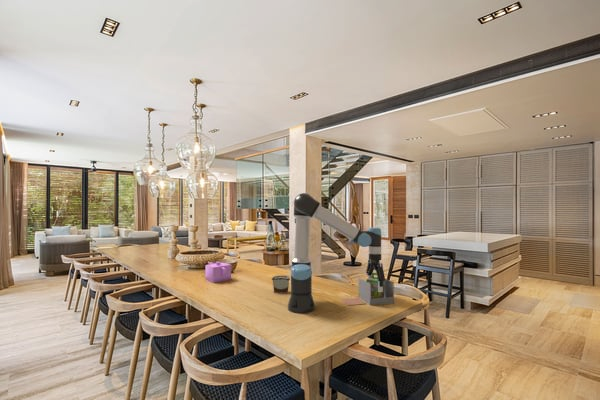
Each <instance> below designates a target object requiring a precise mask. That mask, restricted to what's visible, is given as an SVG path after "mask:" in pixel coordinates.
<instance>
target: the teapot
mask: <svg viewBox="0 0 600 400" xmlns="http://www.w3.org/2000/svg"><path fill="white" fill-rule="evenodd" d="M209 263H210V264H206V265H205V281H207V280H208V282H210V283H213V284H215V282H216V283H220V282H224V281H229V280H230V281H231V280H232V264H231V263H226V262H221V261H216V262H215V263H214V262H212V261H210V262H209Z"/></svg>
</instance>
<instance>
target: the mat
mask: <svg viewBox="0 0 600 400" xmlns="http://www.w3.org/2000/svg"><path fill="white" fill-rule="evenodd" d="M341 301H342V302H344V303H345V304H346V305H347V306H348V307H349V306H361V305H367V302H365V301H364V300H362V299H361V298H359V297H353V298H352V297H350V298H341Z"/></svg>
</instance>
